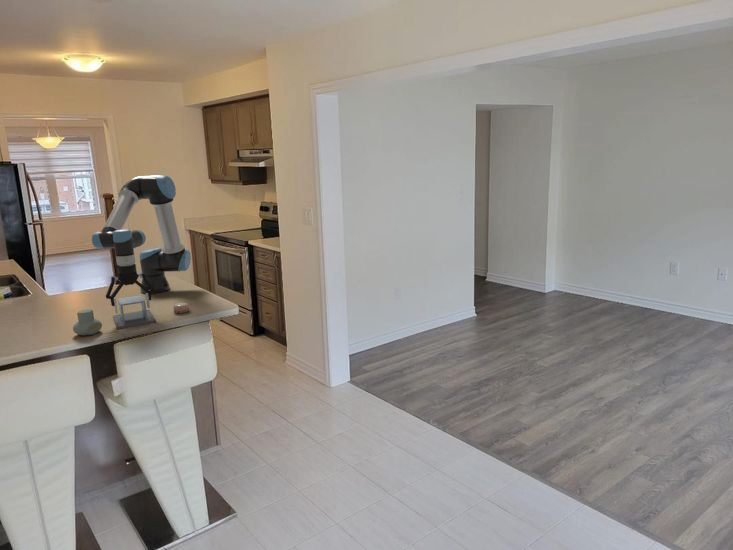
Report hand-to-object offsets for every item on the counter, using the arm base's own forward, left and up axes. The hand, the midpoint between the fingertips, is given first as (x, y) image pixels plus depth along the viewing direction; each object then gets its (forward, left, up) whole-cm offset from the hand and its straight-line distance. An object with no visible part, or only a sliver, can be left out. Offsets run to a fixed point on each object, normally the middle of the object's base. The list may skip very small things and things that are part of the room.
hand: (132, 310), depth 237 cm
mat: (0, 0, -5) cm, 5 cm away
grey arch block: (0, 0, -4) cm, 4 cm away
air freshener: (+9, -19, -5) cm, 22 cm away
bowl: (0, +21, -5) cm, 22 cm away
